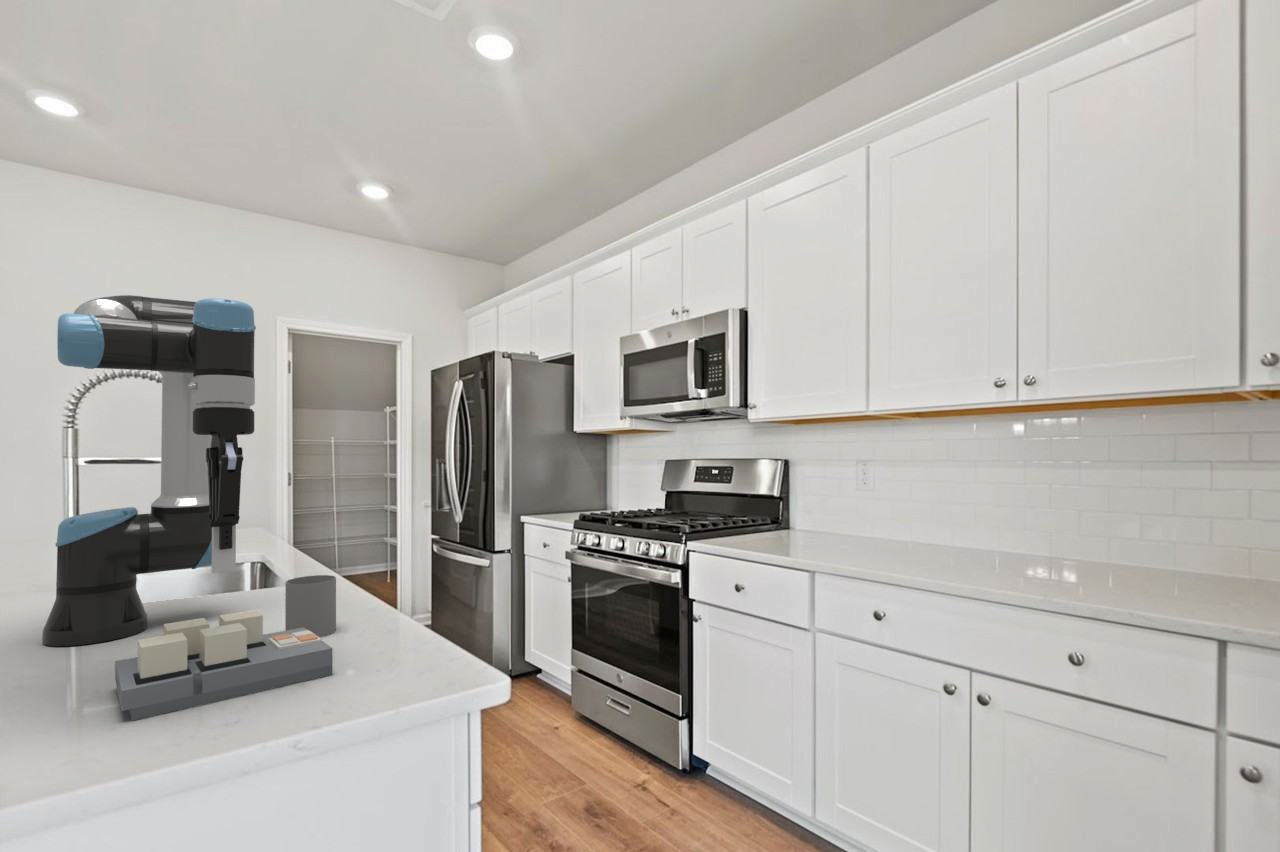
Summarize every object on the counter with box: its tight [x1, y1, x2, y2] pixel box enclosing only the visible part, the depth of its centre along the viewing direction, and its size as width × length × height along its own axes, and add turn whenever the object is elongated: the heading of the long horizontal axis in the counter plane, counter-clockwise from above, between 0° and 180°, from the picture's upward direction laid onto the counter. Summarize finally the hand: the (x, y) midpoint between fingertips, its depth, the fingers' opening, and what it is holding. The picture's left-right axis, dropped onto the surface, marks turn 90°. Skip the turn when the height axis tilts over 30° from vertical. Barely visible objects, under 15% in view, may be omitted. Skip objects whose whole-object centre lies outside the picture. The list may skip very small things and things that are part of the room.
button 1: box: [137, 632, 187, 679], centre depth 88 cm, size 5×5×4 cm
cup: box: [284, 574, 337, 638], centre depth 121 cm, size 8×8×10 cm
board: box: [114, 627, 333, 722], centre depth 96 cm, size 16×25×5 cm, turn 131°
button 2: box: [163, 617, 210, 655], centre depth 96 cm, size 5×5×4 cm
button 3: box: [199, 623, 247, 666], centre depth 93 cm, size 5×5×4 cm
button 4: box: [218, 609, 264, 644], centre depth 101 cm, size 5×5×4 cm
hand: (223, 571), depth 93 cm, fingers closed
